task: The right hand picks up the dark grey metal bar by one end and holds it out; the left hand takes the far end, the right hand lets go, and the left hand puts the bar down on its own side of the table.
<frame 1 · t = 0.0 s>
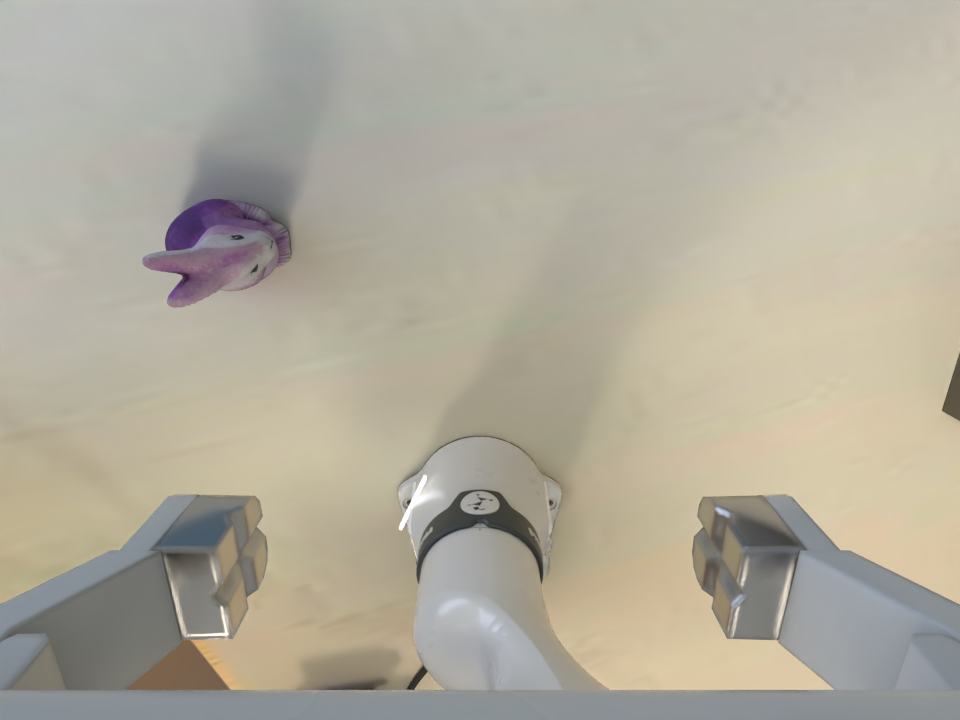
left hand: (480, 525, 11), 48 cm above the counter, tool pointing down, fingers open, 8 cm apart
figurine: (246, 237, 56), on the counter
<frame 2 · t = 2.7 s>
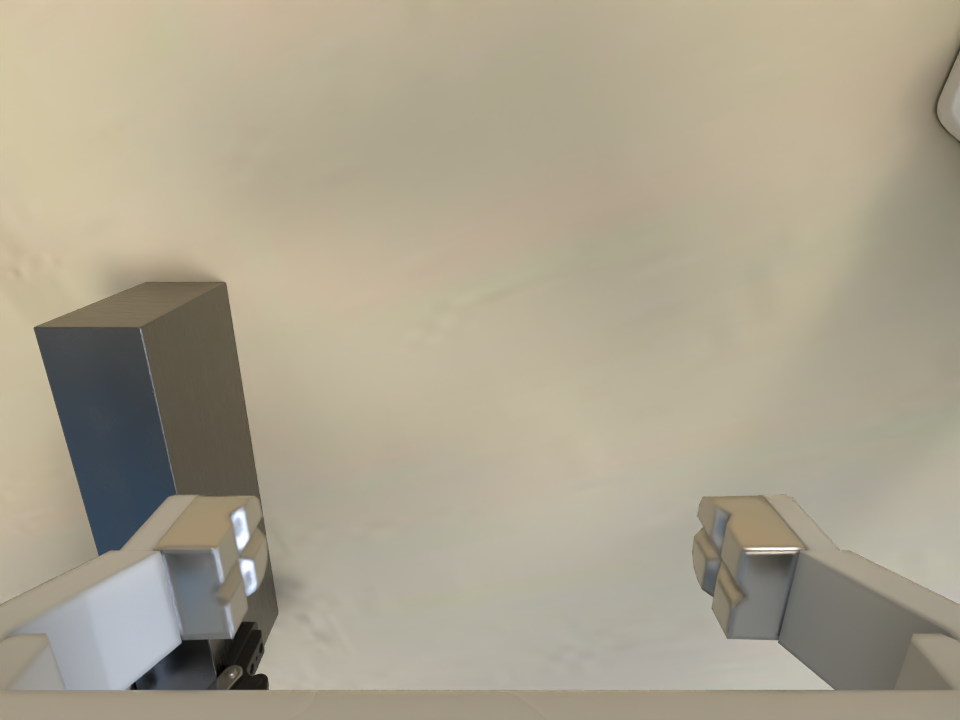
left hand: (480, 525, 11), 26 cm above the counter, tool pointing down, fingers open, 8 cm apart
bar: (219, 466, 40), on the counter, touching right hand
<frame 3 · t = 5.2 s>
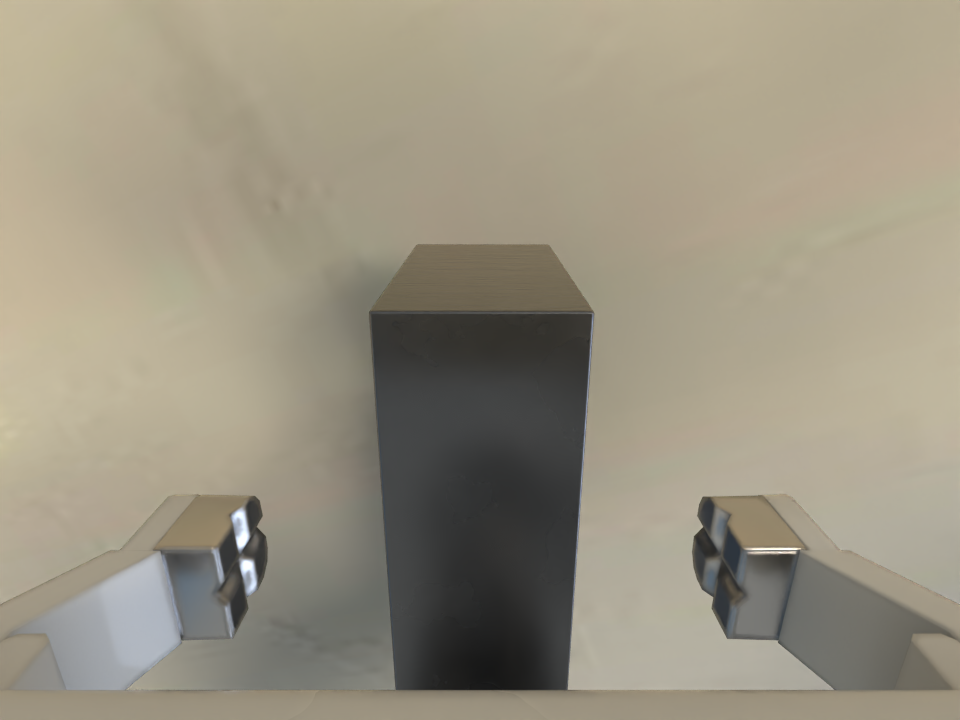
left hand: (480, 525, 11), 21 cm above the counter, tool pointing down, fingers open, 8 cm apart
bar: (482, 534, 26), point 8 cm above the counter, touching right hand
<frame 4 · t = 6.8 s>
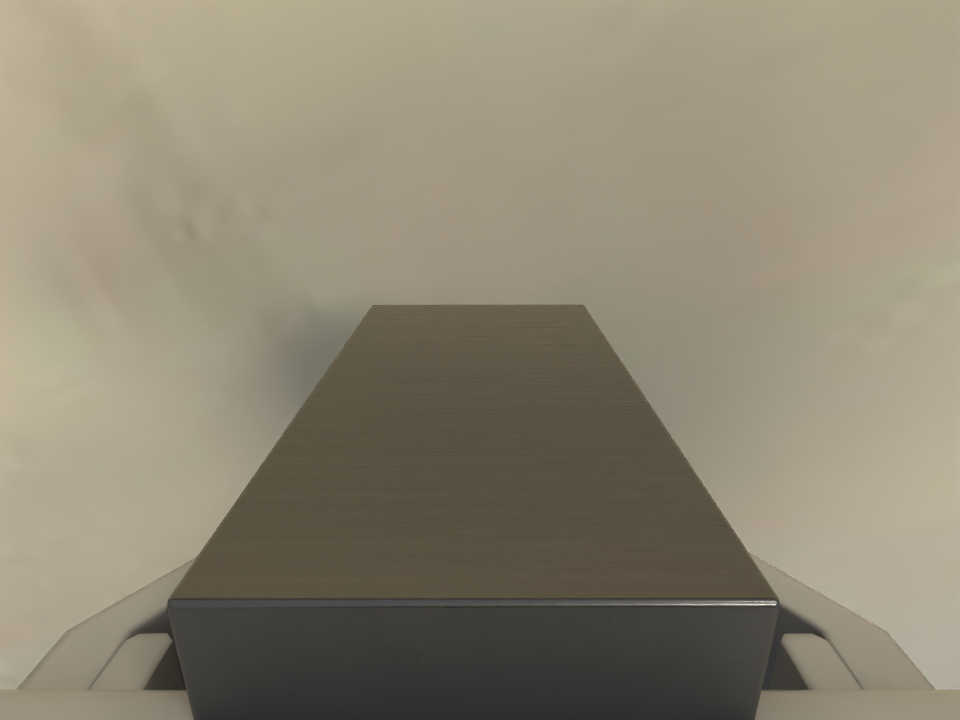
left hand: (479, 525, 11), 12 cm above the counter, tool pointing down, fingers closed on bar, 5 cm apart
bar: (479, 709, 18), point 8 cm above the counter, touching left hand, right hand
when the right hand's fingers open (13 cm above the counter, at t = 8.0 s): bar stays where it is, held by the left hand.
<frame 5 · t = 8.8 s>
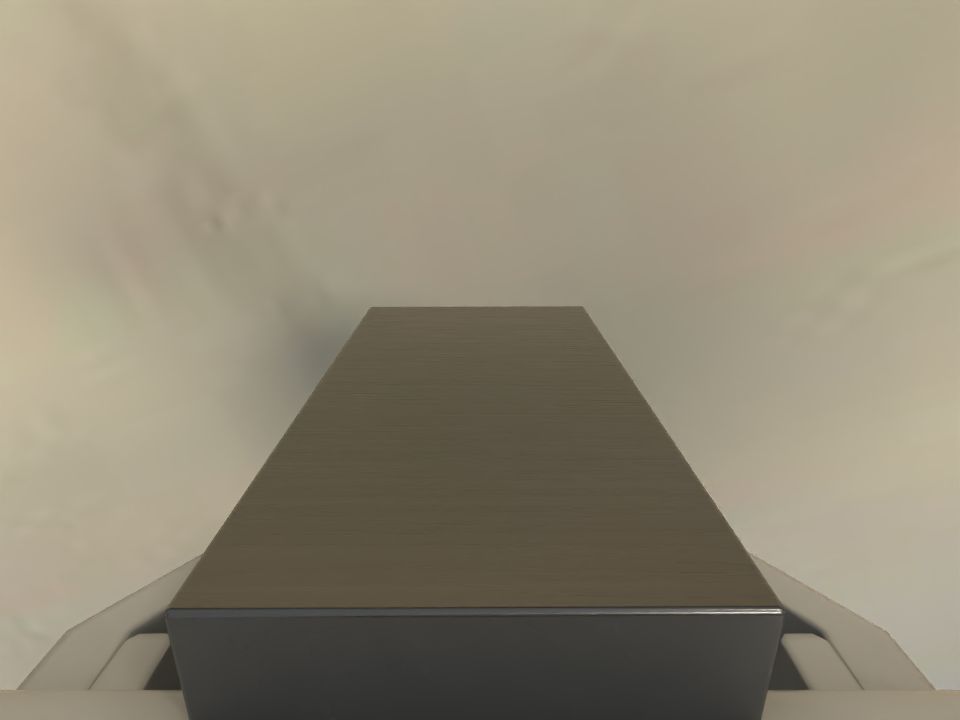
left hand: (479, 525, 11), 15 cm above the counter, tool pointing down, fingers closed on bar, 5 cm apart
bar: (478, 711, 18), point 11 cm above the counter, touching left hand
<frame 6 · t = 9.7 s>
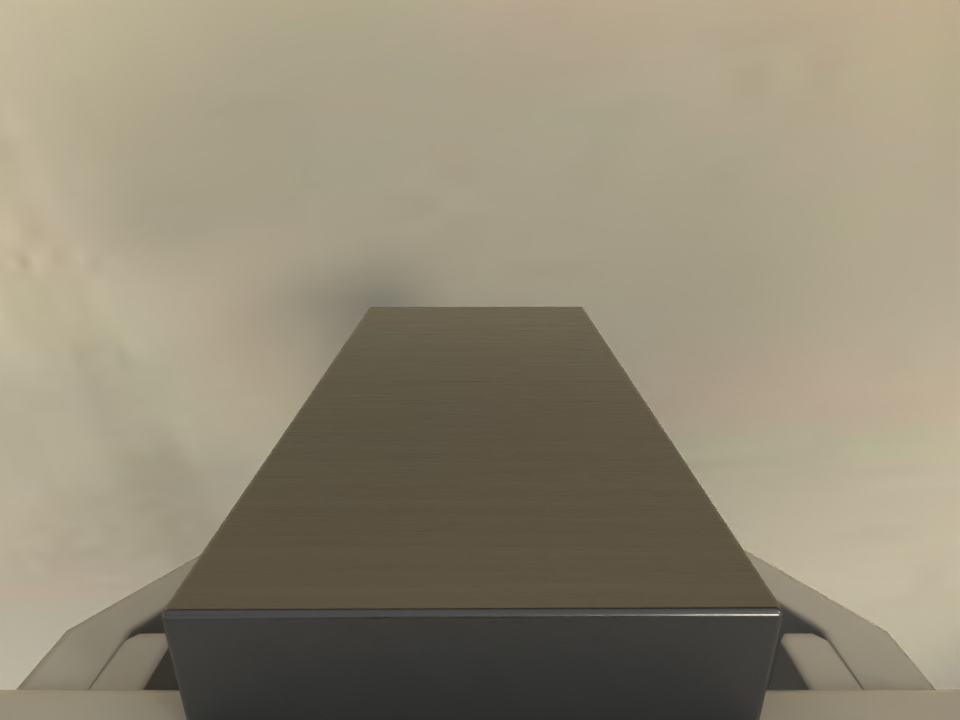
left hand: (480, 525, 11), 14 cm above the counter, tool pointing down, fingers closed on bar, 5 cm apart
bar: (477, 711, 18), point 10 cm above the counter, touching left hand
when the left hand's fingers open (5 cm above the counter, at t = 12.6 s): bar stays where it is, on the counter.
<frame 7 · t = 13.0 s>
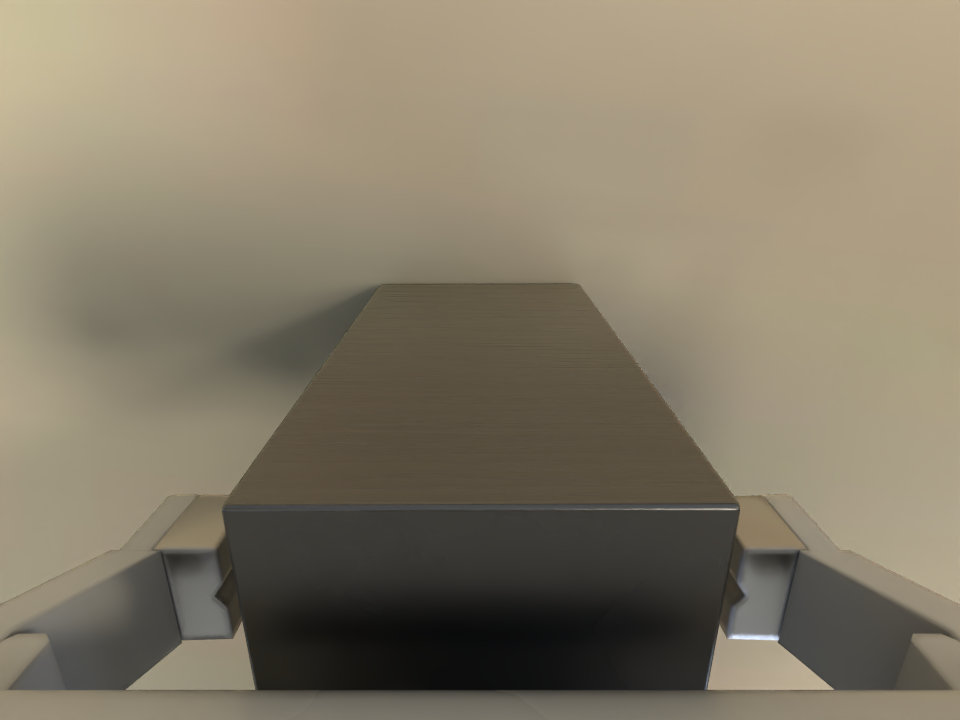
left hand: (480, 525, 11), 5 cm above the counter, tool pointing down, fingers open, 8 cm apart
bar: (480, 673, 19), on the counter
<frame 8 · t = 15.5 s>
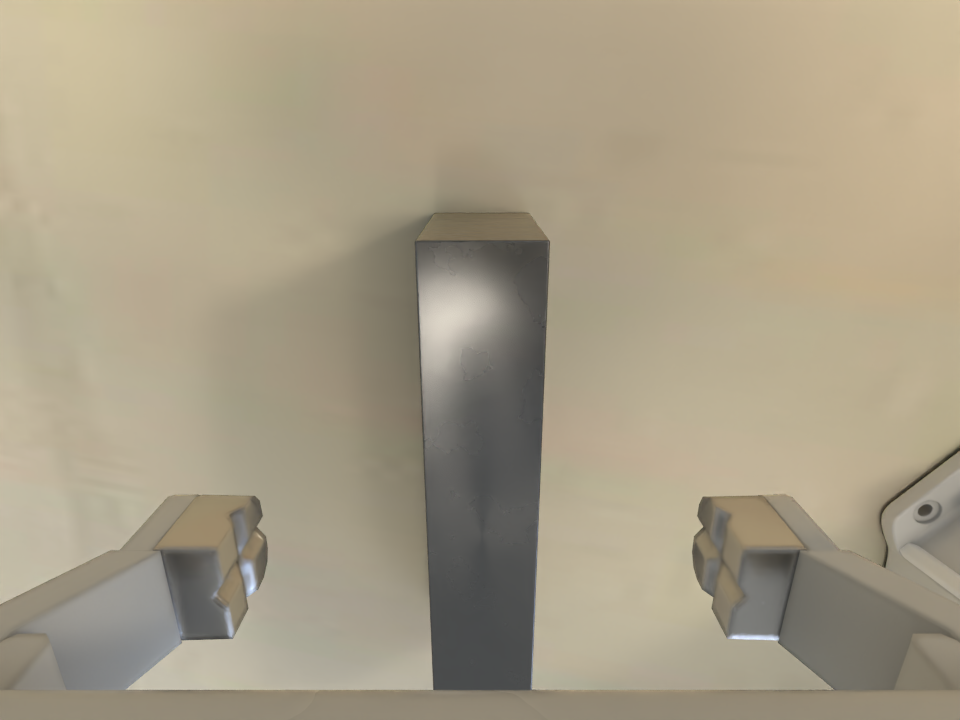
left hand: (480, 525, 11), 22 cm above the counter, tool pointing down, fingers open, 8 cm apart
bar: (482, 435, 35), on the counter
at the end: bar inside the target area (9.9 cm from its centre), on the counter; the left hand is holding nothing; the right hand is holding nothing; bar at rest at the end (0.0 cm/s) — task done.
